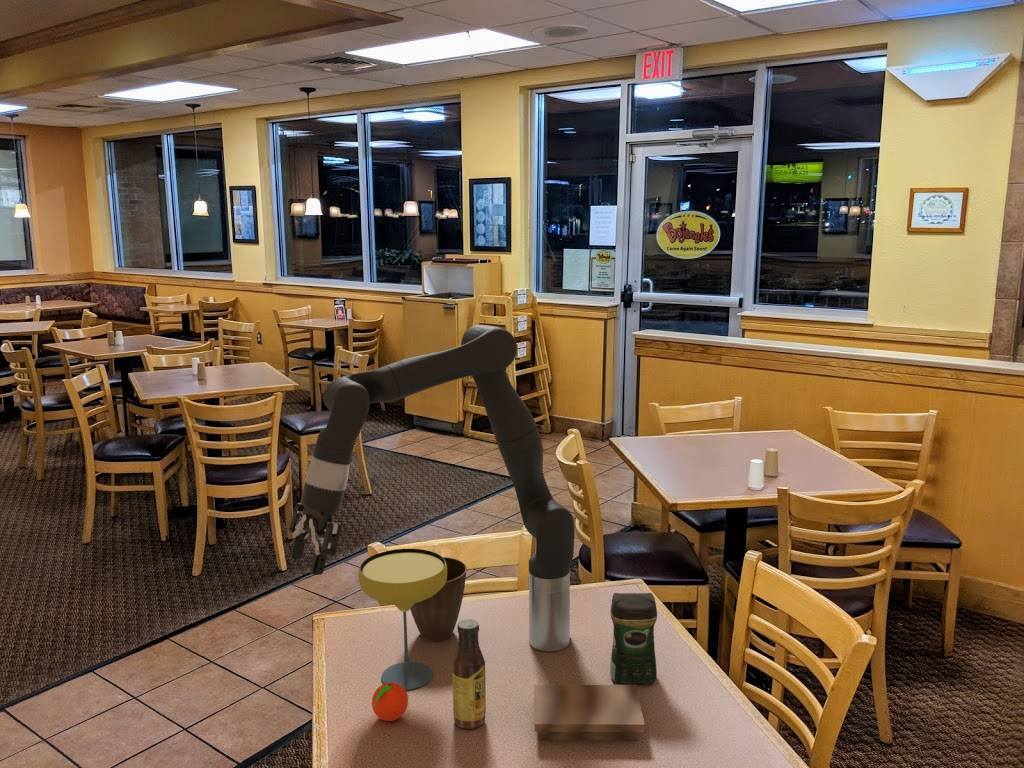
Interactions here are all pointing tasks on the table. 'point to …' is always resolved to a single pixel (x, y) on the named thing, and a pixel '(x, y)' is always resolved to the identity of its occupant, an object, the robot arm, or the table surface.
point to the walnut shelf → (587, 712)
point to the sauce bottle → (469, 678)
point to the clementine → (390, 701)
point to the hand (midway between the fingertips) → (305, 566)
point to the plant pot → (442, 605)
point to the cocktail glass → (404, 598)
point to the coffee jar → (633, 639)
